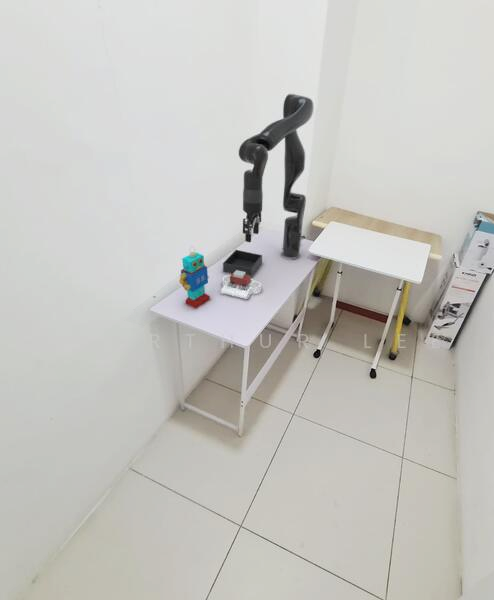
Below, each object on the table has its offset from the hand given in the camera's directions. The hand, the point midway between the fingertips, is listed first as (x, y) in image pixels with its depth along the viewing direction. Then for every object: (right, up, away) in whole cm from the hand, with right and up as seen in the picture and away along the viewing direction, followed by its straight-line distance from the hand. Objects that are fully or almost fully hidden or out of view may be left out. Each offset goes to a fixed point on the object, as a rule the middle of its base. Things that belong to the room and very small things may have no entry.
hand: (252, 237), depth 138 cm
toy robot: (-23, -27, +2) cm, 35 cm away
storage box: (-7, -10, +26) cm, 29 cm away
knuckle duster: (-6, -21, +11) cm, 25 cm away
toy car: (-6, -18, +9) cm, 22 cm away
